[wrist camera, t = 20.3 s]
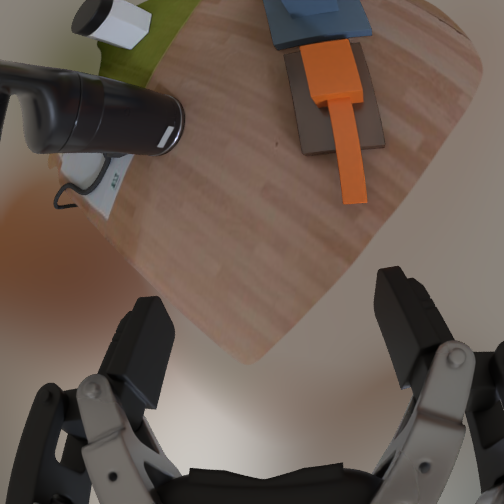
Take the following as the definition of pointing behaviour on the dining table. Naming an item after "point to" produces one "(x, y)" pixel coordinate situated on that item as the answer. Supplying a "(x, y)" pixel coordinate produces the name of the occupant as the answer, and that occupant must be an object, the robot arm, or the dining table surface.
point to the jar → (112, 22)
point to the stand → (314, 21)
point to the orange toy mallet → (339, 108)
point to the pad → (318, 119)
